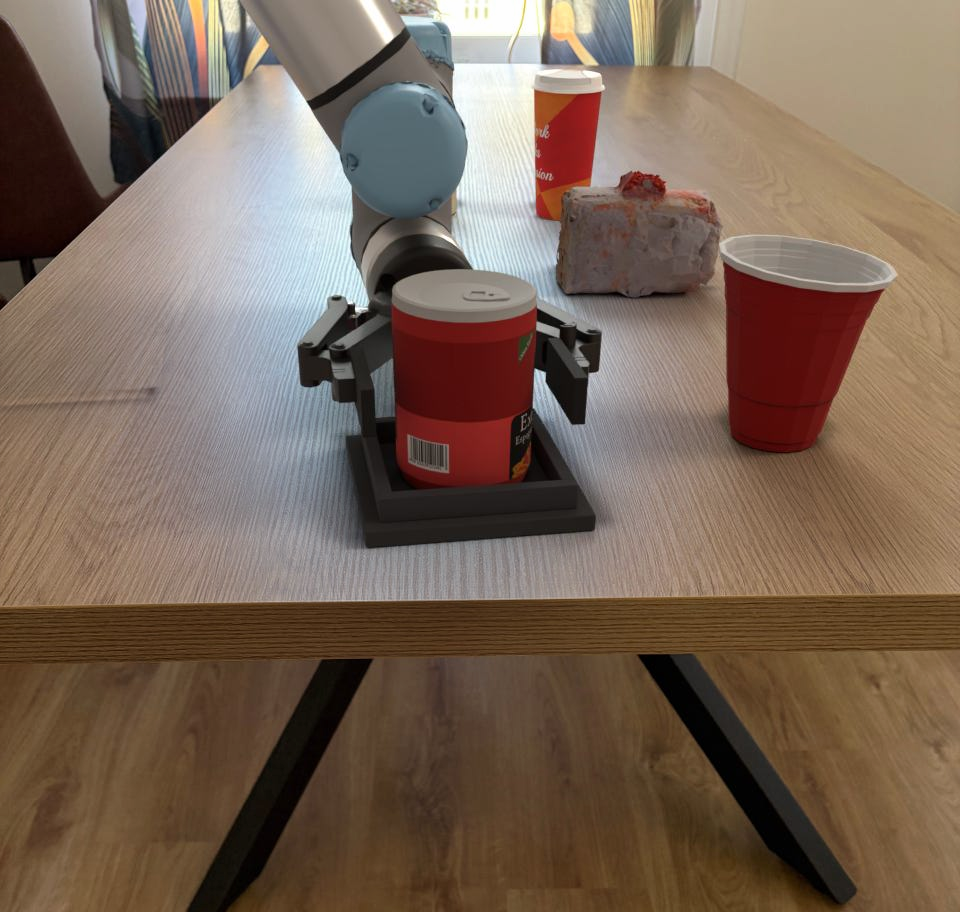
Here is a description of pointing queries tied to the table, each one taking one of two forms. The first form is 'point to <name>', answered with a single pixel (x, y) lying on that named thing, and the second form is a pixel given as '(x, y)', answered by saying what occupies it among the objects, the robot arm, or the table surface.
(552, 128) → the paper cup
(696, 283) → the food item
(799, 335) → the plastic cup
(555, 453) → the base pad
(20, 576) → the table surface
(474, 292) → the canned food
